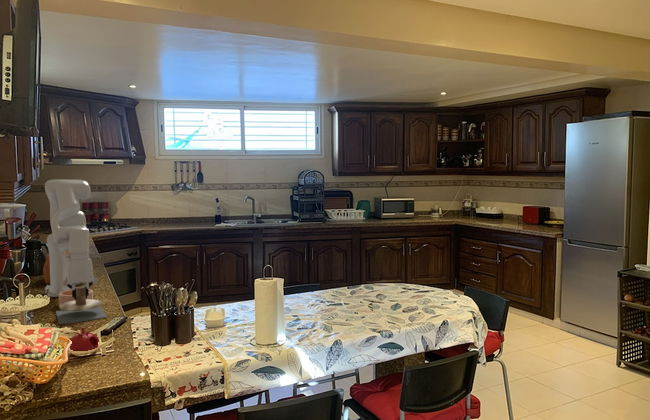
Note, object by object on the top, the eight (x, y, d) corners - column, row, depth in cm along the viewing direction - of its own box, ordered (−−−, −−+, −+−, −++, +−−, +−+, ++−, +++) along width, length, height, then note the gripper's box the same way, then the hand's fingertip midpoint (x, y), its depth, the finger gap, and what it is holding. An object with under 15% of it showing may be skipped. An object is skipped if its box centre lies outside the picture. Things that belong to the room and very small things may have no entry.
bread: (77, 275, 296) (76, 247, 294) (78, 282, 277) (77, 252, 276) (44, 278, 287) (43, 249, 286) (42, 285, 269) (41, 255, 267)
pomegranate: (66, 361, 161) (64, 334, 160) (68, 351, 170) (67, 325, 170) (99, 356, 165) (98, 329, 164) (100, 346, 174) (98, 321, 173)
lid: (61, 313, 201) (60, 294, 201) (58, 304, 215) (57, 286, 214) (103, 307, 210) (103, 289, 209) (98, 299, 223) (97, 282, 223)
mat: (55, 312, 216) (55, 311, 216) (100, 307, 226) (100, 305, 226) (59, 324, 199) (59, 323, 199) (106, 318, 209) (106, 316, 209)
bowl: (52, 307, 224) (51, 294, 223) (73, 300, 238) (73, 288, 237) (79, 309, 221) (79, 296, 221) (99, 301, 235) (98, 289, 235)
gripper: (58, 259, 203) (59, 302, 204) (101, 256, 212) (102, 297, 213) (56, 256, 209) (58, 298, 211) (99, 253, 218) (100, 294, 219)
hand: (80, 297), depth 212 cm, fingers closed on lid, 3 cm apart
